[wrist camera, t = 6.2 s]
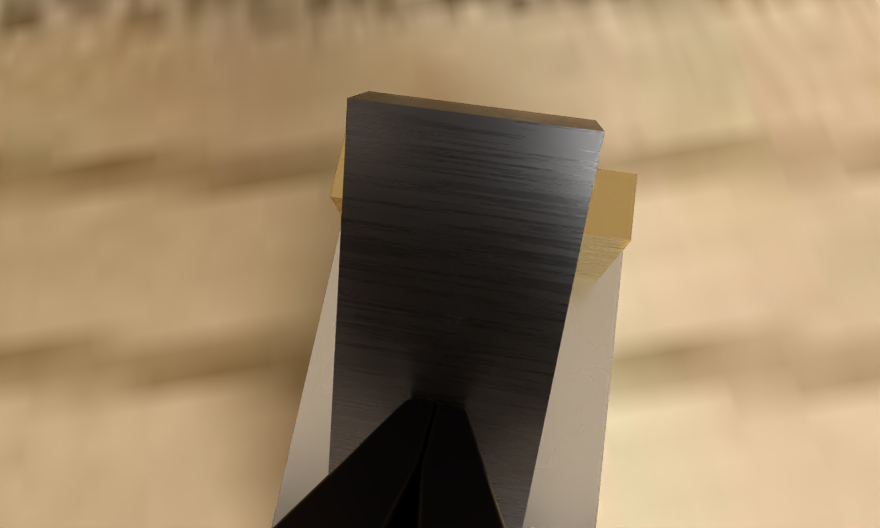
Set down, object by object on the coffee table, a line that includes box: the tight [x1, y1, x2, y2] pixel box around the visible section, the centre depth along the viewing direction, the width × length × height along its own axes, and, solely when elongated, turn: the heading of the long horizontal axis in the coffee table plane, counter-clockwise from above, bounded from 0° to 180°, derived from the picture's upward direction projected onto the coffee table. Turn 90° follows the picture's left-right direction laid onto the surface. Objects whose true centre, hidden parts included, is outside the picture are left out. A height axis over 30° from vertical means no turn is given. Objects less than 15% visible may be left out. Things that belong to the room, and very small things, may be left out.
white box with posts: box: [272, 135, 637, 528], centre depth 14 cm, size 12×7×8 cm, turn 170°
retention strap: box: [328, 91, 605, 528], centre depth 10 cm, size 2×3×12 cm
